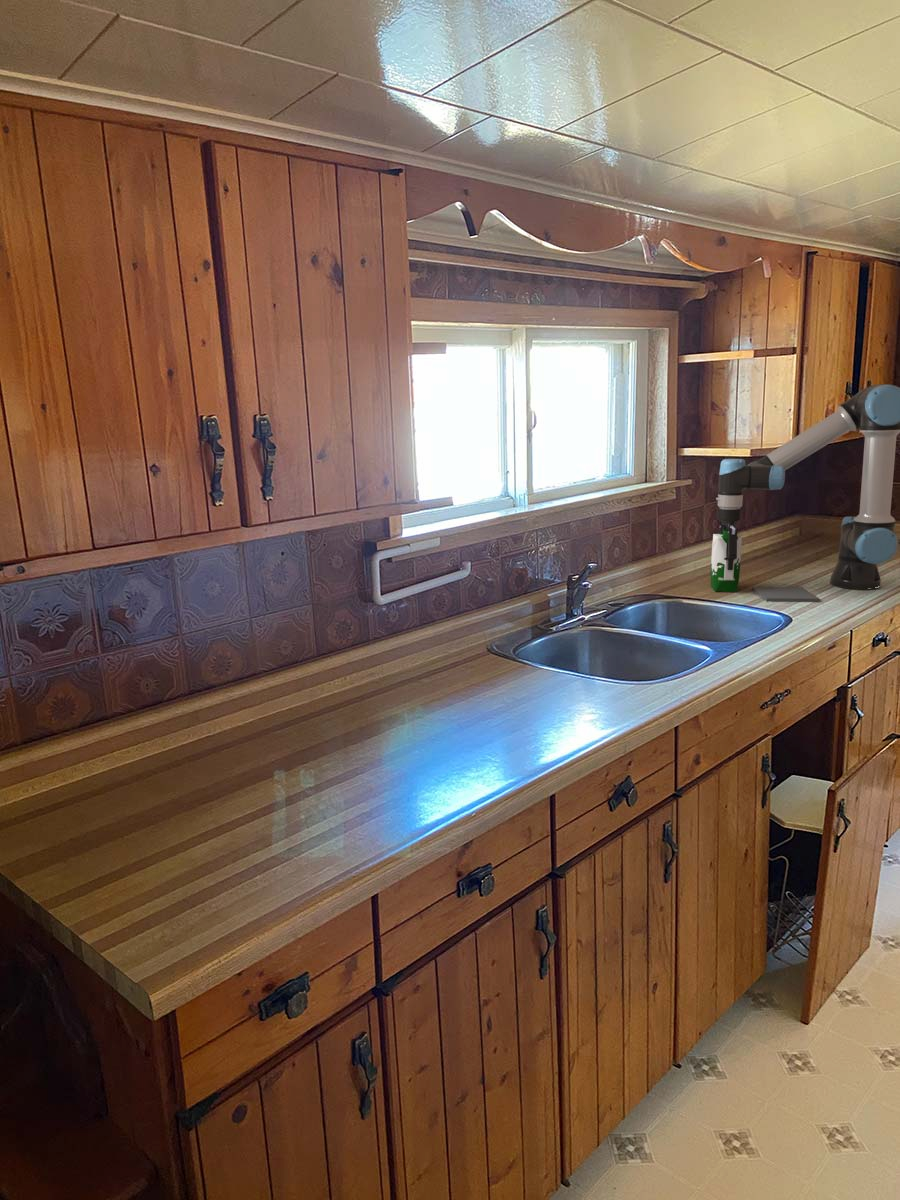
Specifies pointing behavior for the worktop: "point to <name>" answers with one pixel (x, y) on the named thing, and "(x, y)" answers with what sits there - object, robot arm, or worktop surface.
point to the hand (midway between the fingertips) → (724, 576)
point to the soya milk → (719, 564)
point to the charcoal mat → (785, 594)
